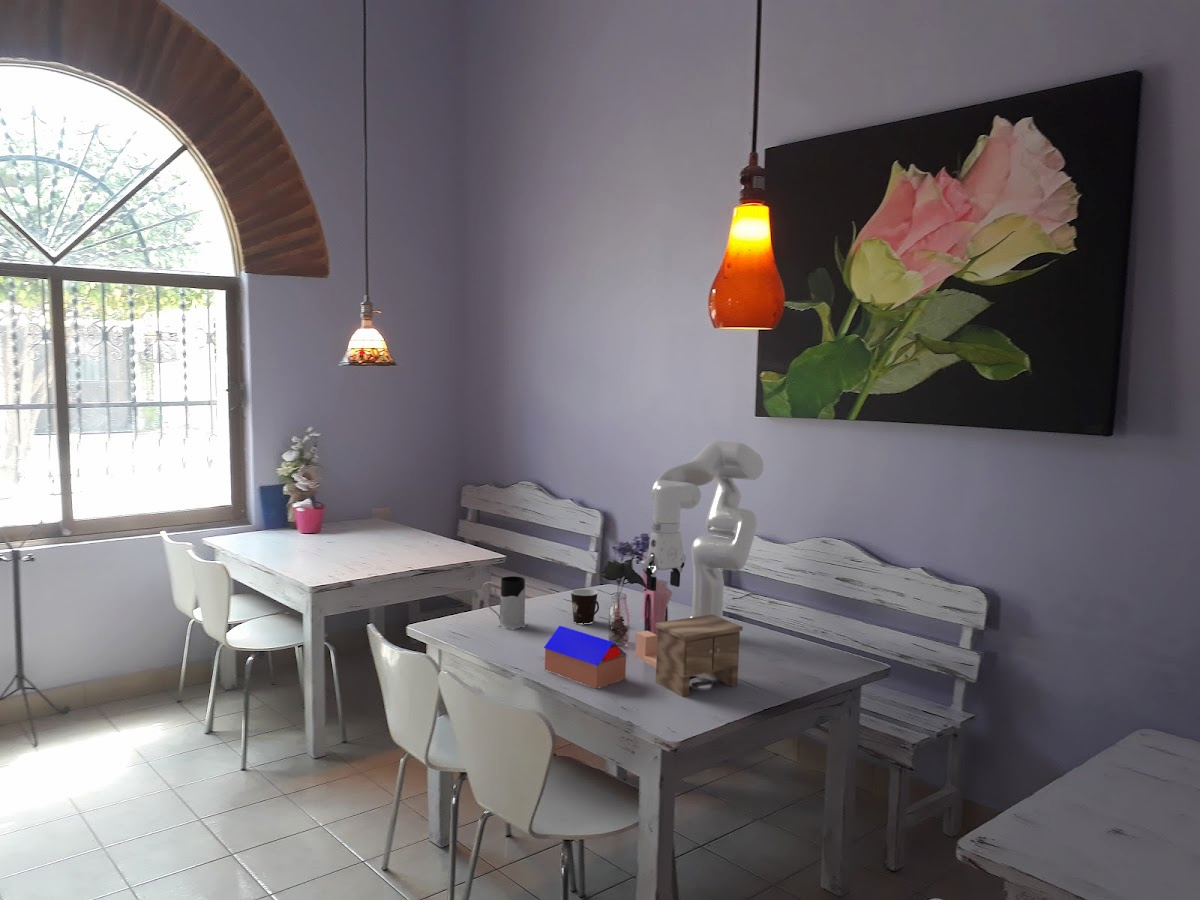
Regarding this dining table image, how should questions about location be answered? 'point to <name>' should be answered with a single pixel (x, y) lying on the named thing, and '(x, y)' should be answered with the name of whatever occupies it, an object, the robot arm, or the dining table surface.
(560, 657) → the house
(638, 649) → the tan stepped beam
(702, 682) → the steel disc
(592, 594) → the coffee mug
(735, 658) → the cabinet
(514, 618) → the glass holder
